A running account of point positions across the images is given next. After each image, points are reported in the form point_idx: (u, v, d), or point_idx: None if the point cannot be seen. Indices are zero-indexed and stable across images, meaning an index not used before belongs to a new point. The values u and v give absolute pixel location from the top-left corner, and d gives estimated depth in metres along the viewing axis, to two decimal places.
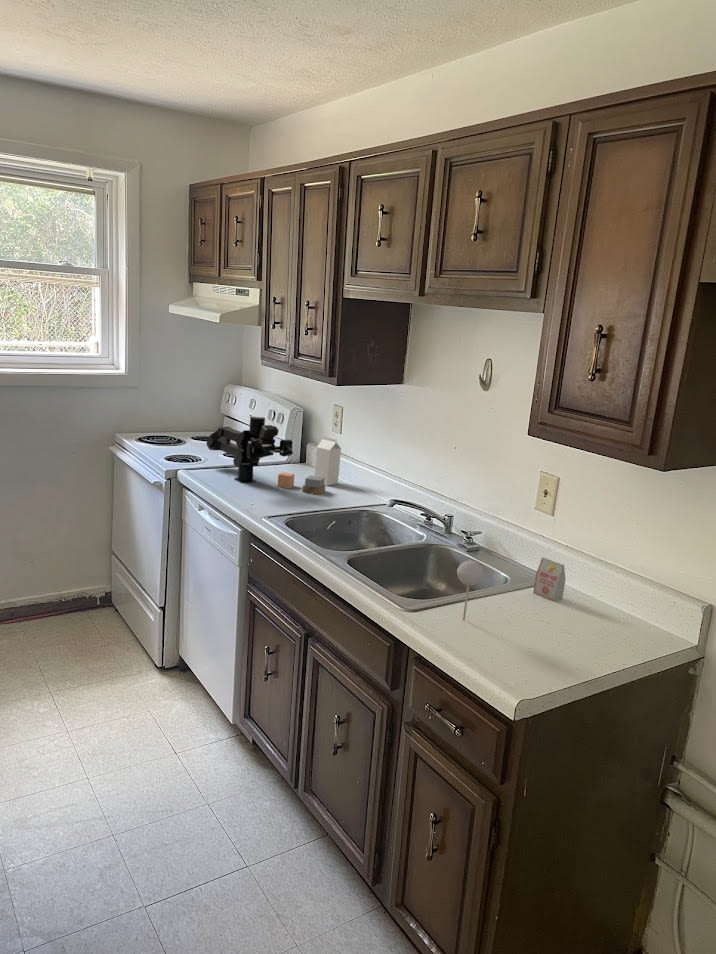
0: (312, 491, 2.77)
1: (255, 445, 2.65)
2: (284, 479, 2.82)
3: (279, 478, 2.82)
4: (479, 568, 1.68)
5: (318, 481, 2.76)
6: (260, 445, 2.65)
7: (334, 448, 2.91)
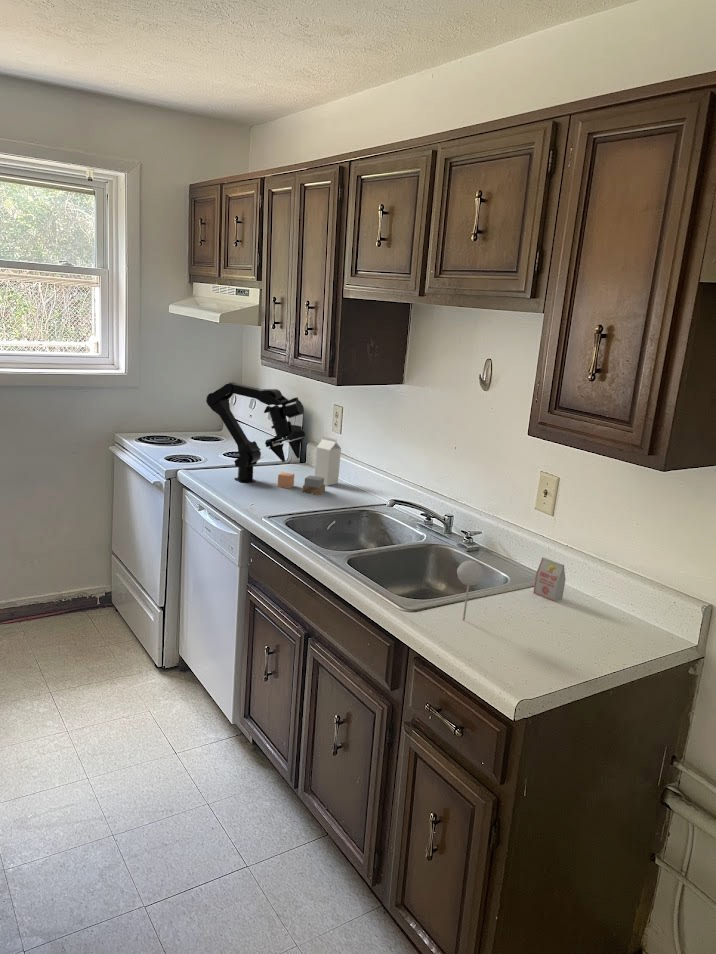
0: (312, 491, 2.77)
1: (302, 439, 2.74)
2: (284, 479, 2.82)
3: (279, 478, 2.82)
4: (479, 568, 1.68)
5: (317, 481, 2.76)
6: None
7: (334, 448, 2.91)
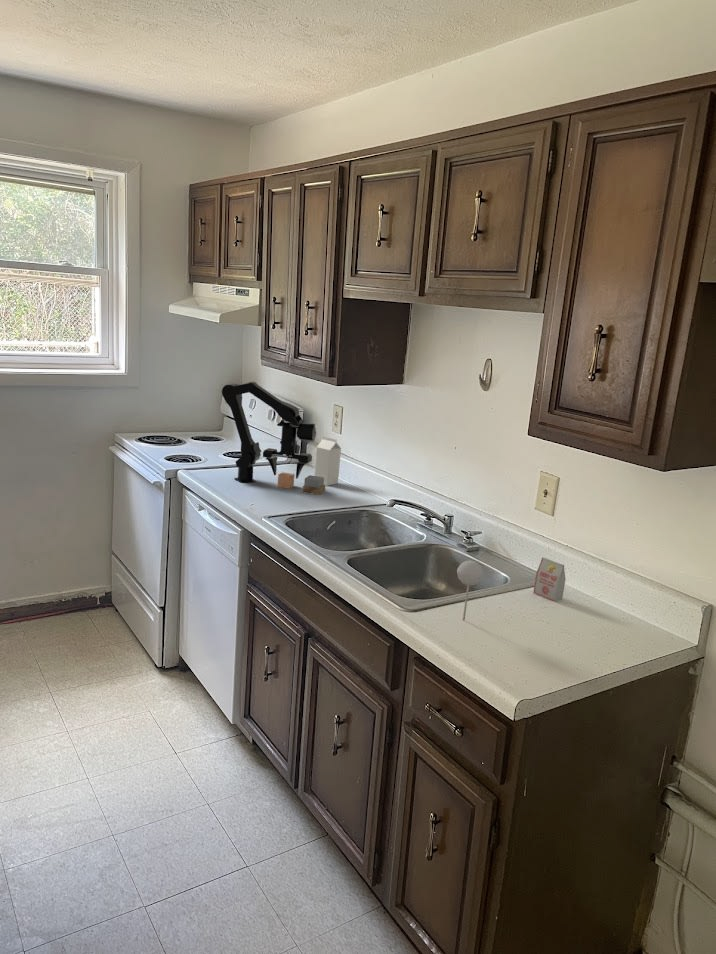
0: (312, 491, 2.77)
1: None
2: (284, 479, 2.82)
3: (279, 478, 2.82)
4: (479, 568, 1.68)
5: (317, 481, 2.76)
6: None
7: (334, 448, 2.91)
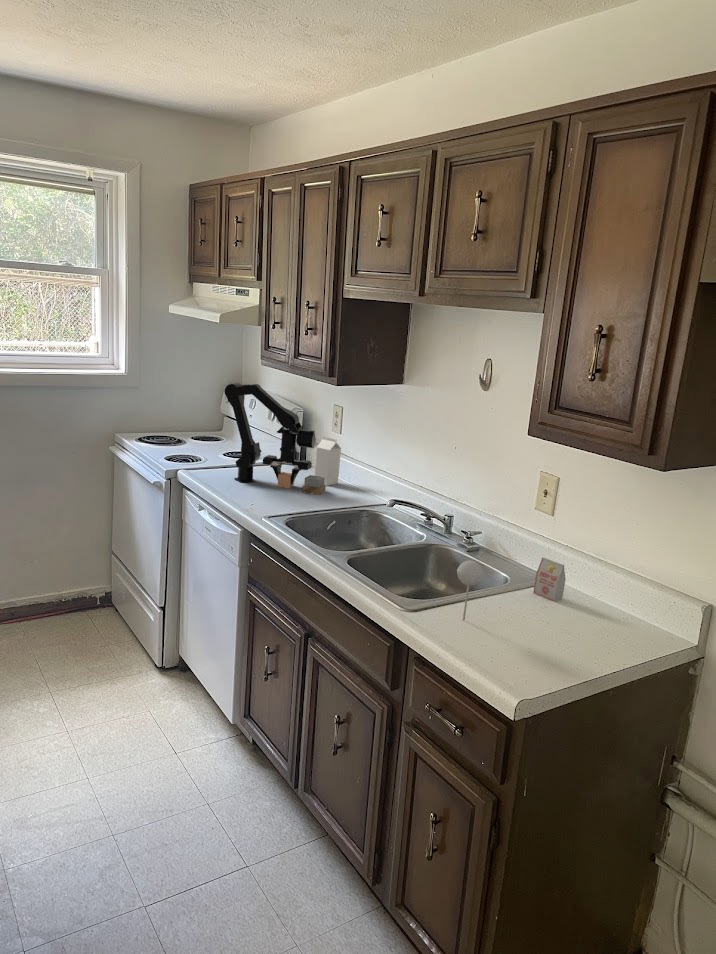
0: (312, 491, 2.77)
1: None
2: (284, 479, 2.82)
3: (279, 478, 2.82)
4: (479, 568, 1.68)
5: (317, 481, 2.76)
6: None
7: (334, 448, 2.91)
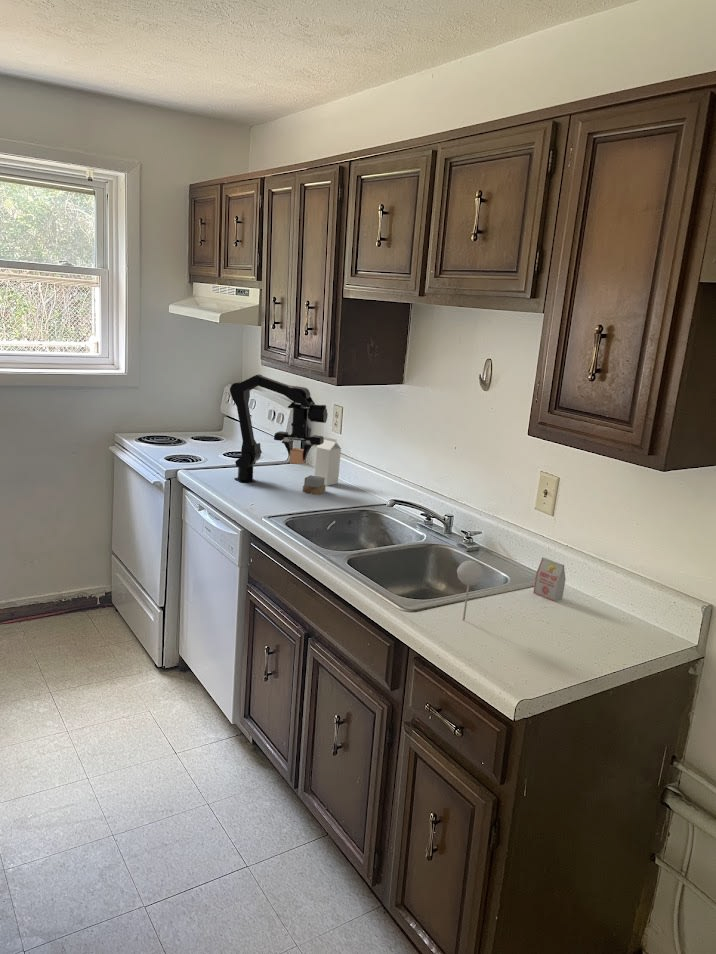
0: (312, 491, 2.77)
1: None
2: (296, 455, 2.78)
3: (291, 454, 2.78)
4: (479, 568, 1.68)
5: (317, 481, 2.76)
6: None
7: (334, 448, 2.91)
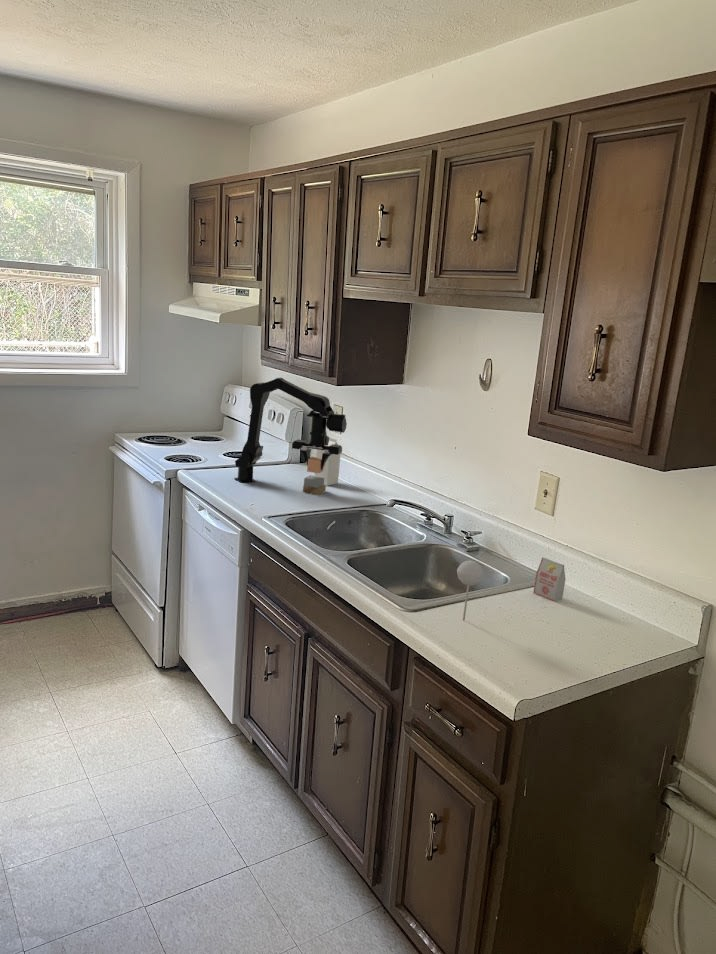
0: (312, 491, 2.77)
1: None
2: (314, 464, 2.75)
3: (309, 462, 2.76)
4: (479, 568, 1.68)
5: (317, 481, 2.76)
6: None
7: None
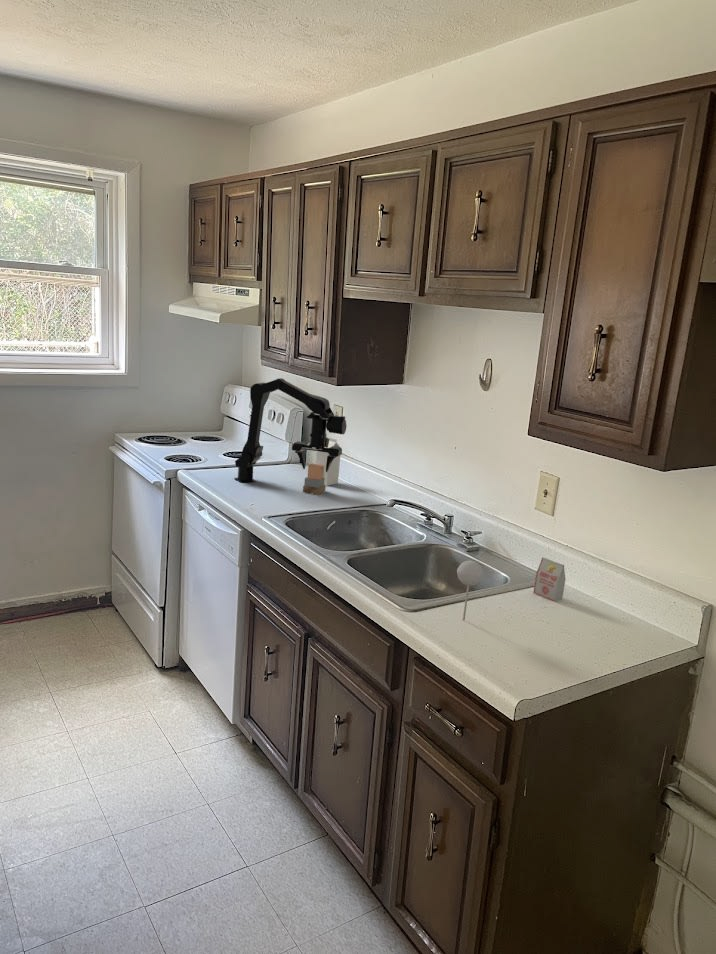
0: (312, 491, 2.77)
1: None
2: (314, 470, 2.76)
3: (309, 469, 2.76)
4: (479, 568, 1.68)
5: (317, 481, 2.76)
6: None
7: None
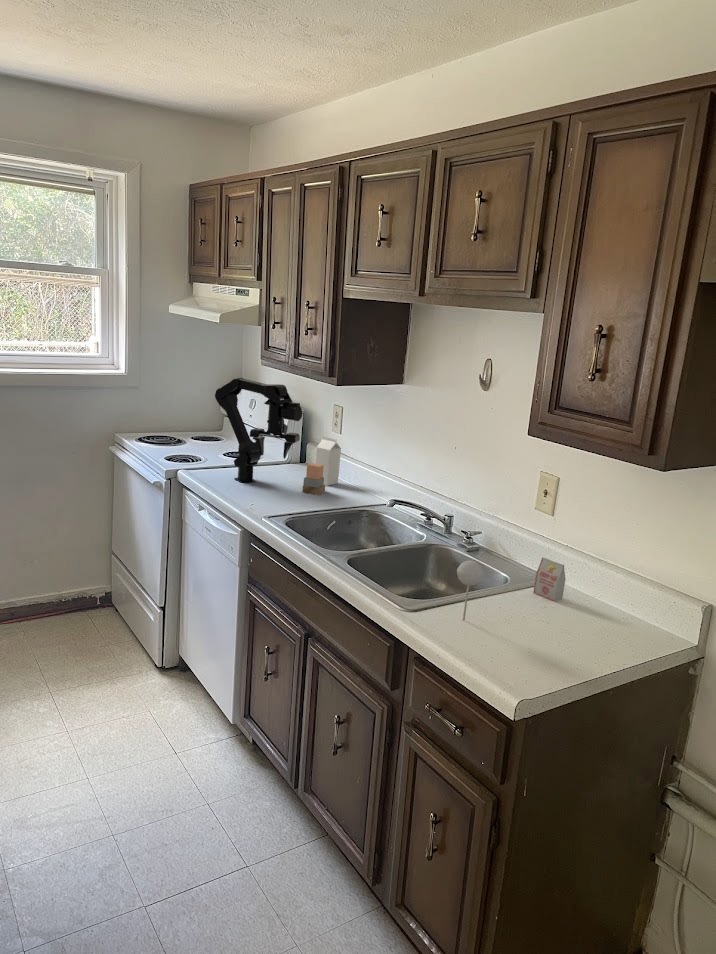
0: (312, 491, 2.76)
1: None
2: (313, 470, 2.76)
3: (308, 469, 2.77)
4: (479, 568, 1.68)
5: (316, 481, 2.75)
6: None
7: (334, 448, 2.91)
